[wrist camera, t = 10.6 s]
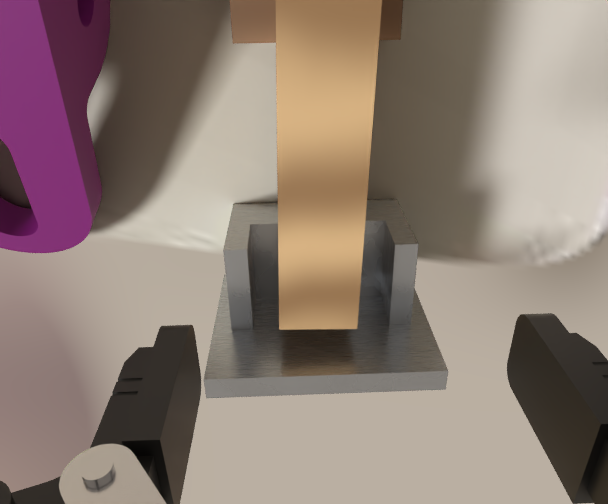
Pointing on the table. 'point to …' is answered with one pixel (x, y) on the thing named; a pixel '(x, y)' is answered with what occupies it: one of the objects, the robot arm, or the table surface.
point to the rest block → (262, 20)
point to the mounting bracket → (50, 118)
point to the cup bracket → (321, 342)
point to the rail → (323, 156)
